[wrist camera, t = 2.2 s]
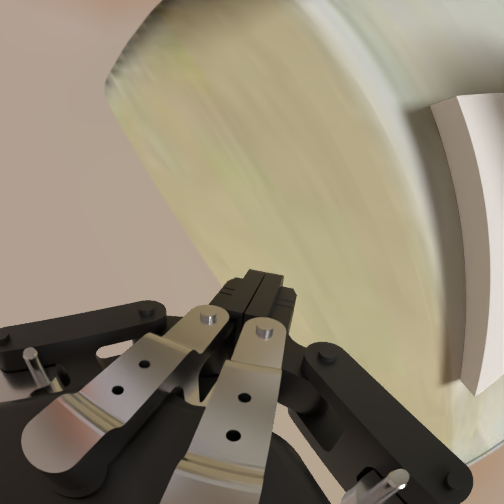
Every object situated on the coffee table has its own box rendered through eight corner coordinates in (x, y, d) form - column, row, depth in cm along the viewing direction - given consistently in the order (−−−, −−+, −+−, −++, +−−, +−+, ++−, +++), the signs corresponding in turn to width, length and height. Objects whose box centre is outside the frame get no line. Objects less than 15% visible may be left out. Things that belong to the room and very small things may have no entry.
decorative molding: (481, 99, 18) (426, 106, 19) (508, 92, 13) (456, 96, 14) (502, 344, 26) (457, 377, 26) (520, 358, 21) (474, 396, 22)
